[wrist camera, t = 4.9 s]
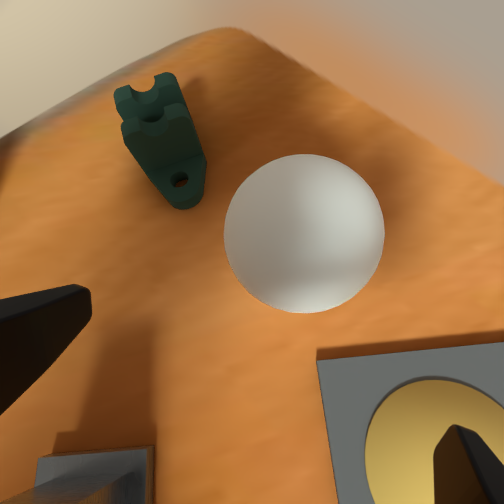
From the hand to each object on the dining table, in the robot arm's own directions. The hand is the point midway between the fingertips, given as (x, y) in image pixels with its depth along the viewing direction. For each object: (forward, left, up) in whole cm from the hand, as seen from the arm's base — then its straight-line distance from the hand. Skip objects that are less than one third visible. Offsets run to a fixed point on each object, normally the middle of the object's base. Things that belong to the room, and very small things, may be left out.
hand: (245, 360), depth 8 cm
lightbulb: (+5, -2, -12) cm, 13 cm away
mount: (+17, +6, -12) cm, 21 cm away
